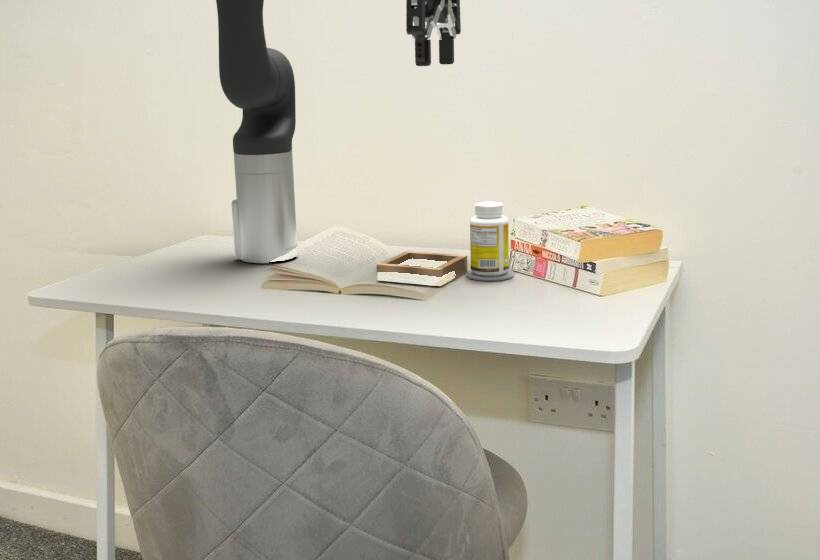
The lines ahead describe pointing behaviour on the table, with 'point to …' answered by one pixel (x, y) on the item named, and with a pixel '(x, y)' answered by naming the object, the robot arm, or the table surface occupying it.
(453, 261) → the box frame
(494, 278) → the coaster
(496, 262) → the supplement bottle
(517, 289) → the table surface
